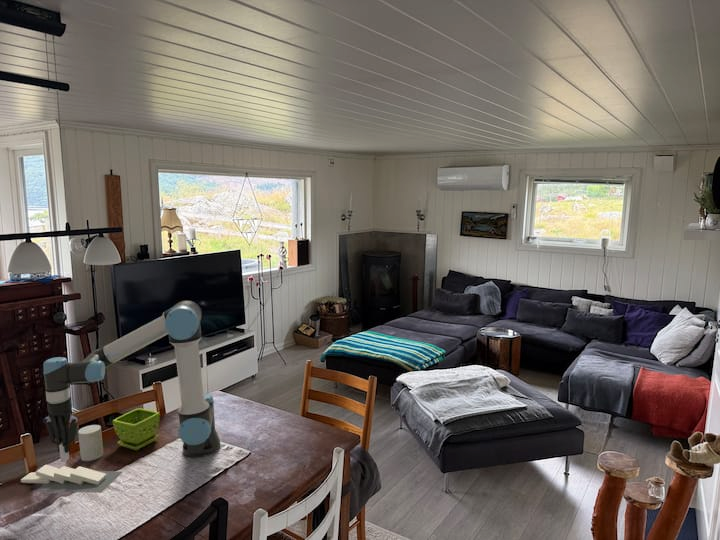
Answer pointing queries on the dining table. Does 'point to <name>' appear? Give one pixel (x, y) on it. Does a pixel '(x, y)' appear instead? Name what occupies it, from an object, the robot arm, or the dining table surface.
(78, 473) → the domino
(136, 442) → the flower pot
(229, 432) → the dining table surface
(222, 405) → the dining table surface
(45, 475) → the domino
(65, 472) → the domino
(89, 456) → the white upright cylinder
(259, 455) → the dining table surface
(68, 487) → the mat
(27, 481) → the domino
